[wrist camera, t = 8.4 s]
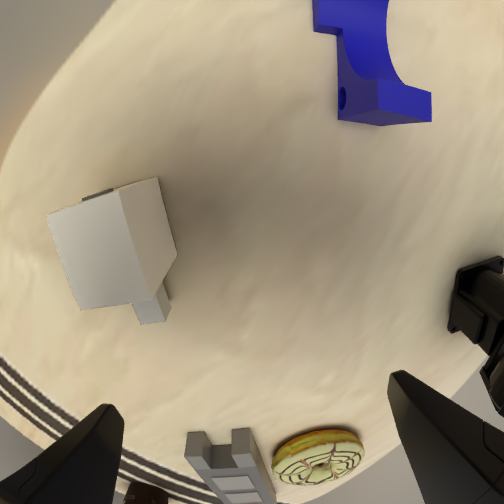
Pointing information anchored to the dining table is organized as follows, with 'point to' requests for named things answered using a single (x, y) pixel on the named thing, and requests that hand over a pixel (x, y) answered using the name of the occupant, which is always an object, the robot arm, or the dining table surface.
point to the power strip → (231, 468)
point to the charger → (117, 249)
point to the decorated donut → (317, 457)
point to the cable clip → (368, 65)
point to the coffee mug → (145, 494)
